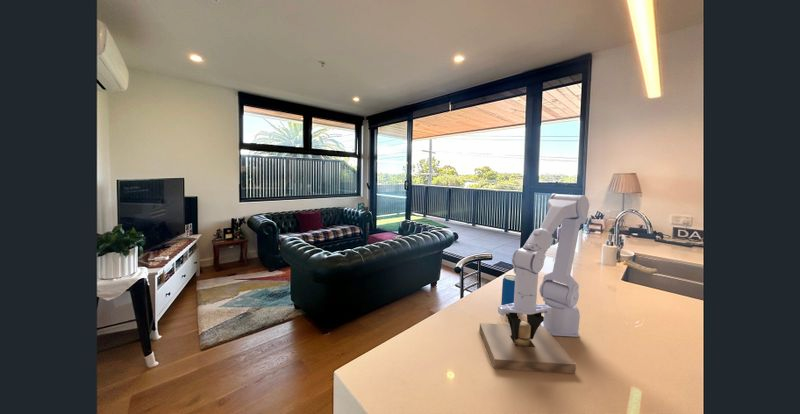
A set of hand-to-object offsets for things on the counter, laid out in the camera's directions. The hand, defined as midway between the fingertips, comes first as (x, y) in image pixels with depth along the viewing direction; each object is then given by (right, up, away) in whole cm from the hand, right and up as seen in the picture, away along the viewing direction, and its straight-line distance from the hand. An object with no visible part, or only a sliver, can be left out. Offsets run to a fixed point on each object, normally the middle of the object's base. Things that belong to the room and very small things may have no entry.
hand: (522, 337), depth 79 cm
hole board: (0, -4, 0) cm, 4 cm away
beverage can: (+7, -1, +26) cm, 27 cm away
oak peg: (0, -2, 0) cm, 2 cm away
